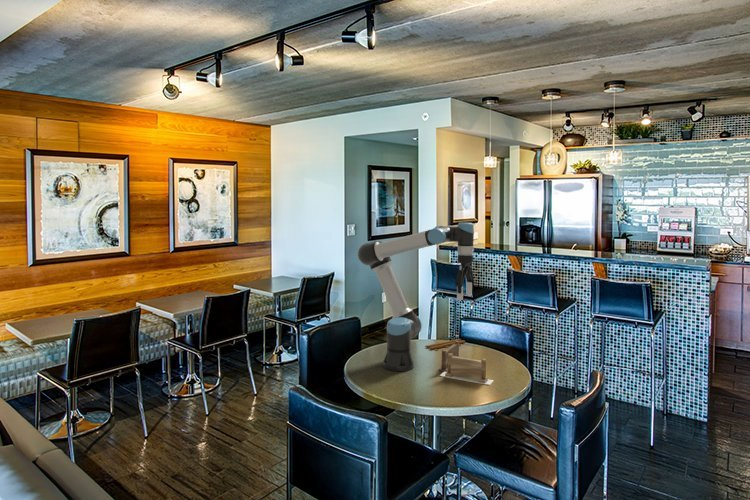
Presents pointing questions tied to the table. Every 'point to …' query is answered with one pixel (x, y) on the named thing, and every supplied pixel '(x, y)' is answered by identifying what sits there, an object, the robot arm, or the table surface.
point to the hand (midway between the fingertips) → (464, 297)
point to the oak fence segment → (466, 368)
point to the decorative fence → (444, 344)
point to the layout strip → (468, 379)
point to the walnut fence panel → (452, 349)
